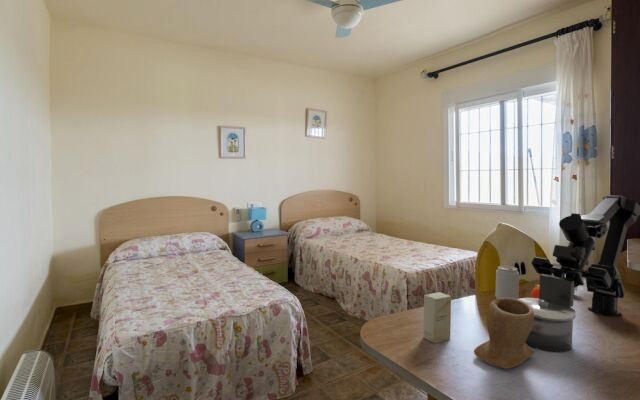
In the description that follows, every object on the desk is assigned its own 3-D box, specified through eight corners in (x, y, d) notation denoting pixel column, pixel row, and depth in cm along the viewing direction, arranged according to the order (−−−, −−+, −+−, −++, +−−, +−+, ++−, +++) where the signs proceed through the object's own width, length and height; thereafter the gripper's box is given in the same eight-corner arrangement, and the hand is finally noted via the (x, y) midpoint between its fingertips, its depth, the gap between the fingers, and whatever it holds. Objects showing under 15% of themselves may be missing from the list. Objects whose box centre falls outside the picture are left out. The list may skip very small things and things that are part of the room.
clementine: (523, 303, 124) (524, 283, 124) (534, 299, 128) (535, 280, 127) (547, 310, 117) (548, 289, 117) (558, 306, 121) (559, 286, 121)
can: (522, 303, 124) (523, 270, 123) (501, 303, 124) (502, 270, 124) (511, 296, 132) (512, 264, 131) (491, 296, 132) (492, 264, 131)
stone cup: (515, 380, 77) (517, 313, 76) (466, 357, 87) (468, 298, 86) (549, 361, 85) (551, 300, 84) (501, 342, 95) (503, 287, 94)
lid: (531, 298, 105) (532, 271, 104) (585, 313, 93) (587, 283, 92) (503, 307, 97) (504, 278, 97) (558, 325, 85) (560, 292, 85)
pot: (508, 318, 111) (508, 294, 110) (581, 344, 93) (582, 314, 93) (482, 328, 104) (483, 301, 103) (556, 357, 87) (557, 325, 86)
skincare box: (434, 343, 94) (435, 299, 93) (422, 337, 98) (423, 294, 97) (451, 338, 97) (452, 295, 96) (438, 332, 101) (439, 291, 100)
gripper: (535, 230, 109) (514, 271, 103) (609, 239, 93) (588, 287, 88) (547, 253, 113) (527, 292, 108) (619, 265, 97) (600, 312, 92)
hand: (557, 295), depth 99 cm, fingers closed, pressing on lid
